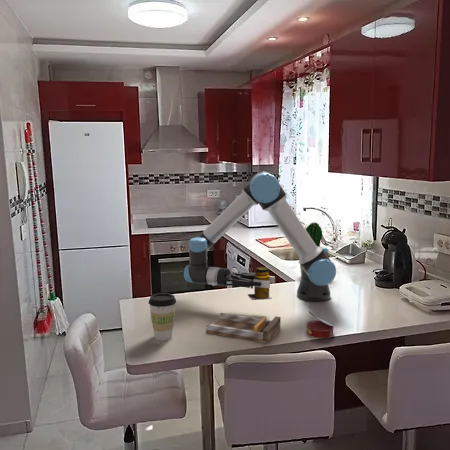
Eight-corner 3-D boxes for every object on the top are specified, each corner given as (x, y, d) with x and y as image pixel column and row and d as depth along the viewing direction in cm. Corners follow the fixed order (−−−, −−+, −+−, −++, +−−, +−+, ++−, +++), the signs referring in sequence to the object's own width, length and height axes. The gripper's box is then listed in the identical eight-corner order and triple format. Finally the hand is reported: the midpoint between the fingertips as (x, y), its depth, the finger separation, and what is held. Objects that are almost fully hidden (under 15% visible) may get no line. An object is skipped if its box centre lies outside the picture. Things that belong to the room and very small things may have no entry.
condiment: (272, 299, 180) (272, 270, 178) (252, 300, 178) (251, 271, 176) (266, 293, 187) (267, 265, 185) (247, 295, 185) (247, 266, 183)
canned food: (308, 340, 170) (309, 313, 173) (335, 341, 166) (335, 314, 170) (302, 336, 160) (302, 308, 164) (330, 338, 157) (330, 309, 160)
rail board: (205, 332, 165) (205, 321, 164) (221, 318, 179) (222, 308, 178) (268, 343, 156) (268, 331, 155) (280, 328, 169) (280, 317, 169)
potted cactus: (316, 272, 247) (318, 218, 242) (332, 279, 233) (335, 222, 228) (292, 275, 242) (293, 220, 237) (307, 282, 228) (309, 224, 223)
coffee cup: (145, 341, 157) (144, 300, 155) (154, 330, 167) (153, 291, 164) (172, 343, 156) (172, 302, 153) (180, 332, 165) (179, 293, 163)
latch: (253, 335, 160) (253, 327, 160) (262, 325, 170) (262, 317, 169) (256, 335, 160) (256, 327, 159) (265, 325, 169) (265, 317, 169)
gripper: (228, 279, 198) (278, 284, 189) (210, 291, 181) (264, 298, 172) (227, 262, 197) (278, 267, 188) (209, 273, 180) (264, 279, 171)
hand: (272, 282), depth 180 cm, fingers closed on condiment, 6 cm apart
